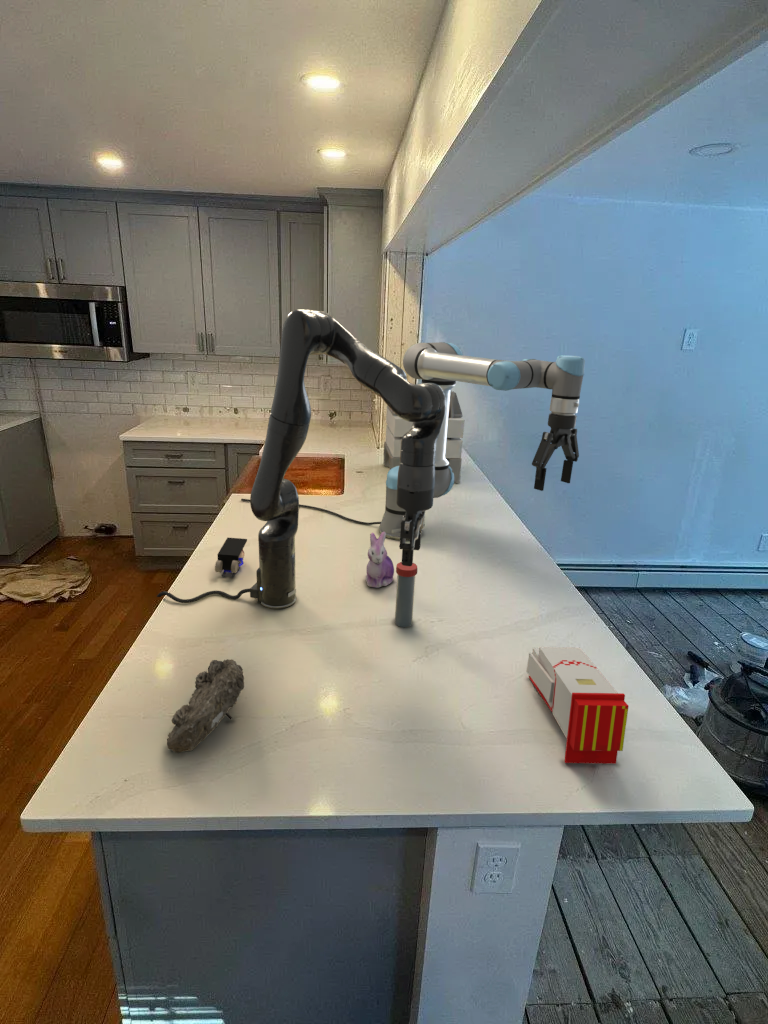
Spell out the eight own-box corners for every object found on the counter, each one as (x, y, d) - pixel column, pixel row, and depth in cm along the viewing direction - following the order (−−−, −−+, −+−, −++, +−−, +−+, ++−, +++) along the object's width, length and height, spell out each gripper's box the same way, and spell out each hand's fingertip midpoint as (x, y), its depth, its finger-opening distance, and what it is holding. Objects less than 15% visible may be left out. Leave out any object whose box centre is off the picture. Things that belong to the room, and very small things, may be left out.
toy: (575, 629, 125) (638, 701, 96) (569, 684, 128) (628, 771, 99) (520, 628, 125) (567, 700, 96) (515, 683, 128) (560, 770, 98)
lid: (418, 577, 137) (419, 570, 136) (397, 577, 136) (397, 570, 136) (415, 567, 141) (416, 561, 141) (394, 567, 141) (395, 561, 140)
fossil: (192, 660, 117) (244, 628, 112) (224, 691, 120) (276, 661, 115) (142, 746, 98) (202, 712, 93) (182, 779, 101) (242, 748, 96)
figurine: (372, 591, 158) (374, 542, 153) (357, 576, 166) (358, 529, 161) (402, 585, 162) (404, 537, 157) (385, 571, 171) (387, 524, 166)
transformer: (382, 463, 289) (386, 382, 275) (445, 464, 293) (451, 384, 279) (390, 482, 257) (394, 392, 243) (460, 483, 261) (468, 394, 247)
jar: (413, 627, 142) (417, 571, 136) (395, 627, 141) (398, 571, 136) (410, 618, 146) (414, 563, 141) (393, 618, 145) (396, 563, 140)
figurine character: (238, 584, 162) (249, 557, 175) (236, 562, 158) (247, 536, 172) (215, 584, 161) (227, 556, 175) (212, 561, 158) (225, 535, 171)
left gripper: (405, 473, 122) (401, 542, 128) (389, 492, 109) (385, 568, 115) (439, 476, 120) (433, 546, 126) (428, 496, 107) (422, 573, 113)
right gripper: (548, 419, 148) (537, 496, 155) (598, 411, 163) (586, 482, 171) (525, 414, 153) (515, 489, 160) (575, 407, 169) (564, 476, 176)
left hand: (411, 557), depth 120 cm, fingers open, 8 cm apart
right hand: (552, 485), depth 166 cm, fingers open, 13 cm apart
